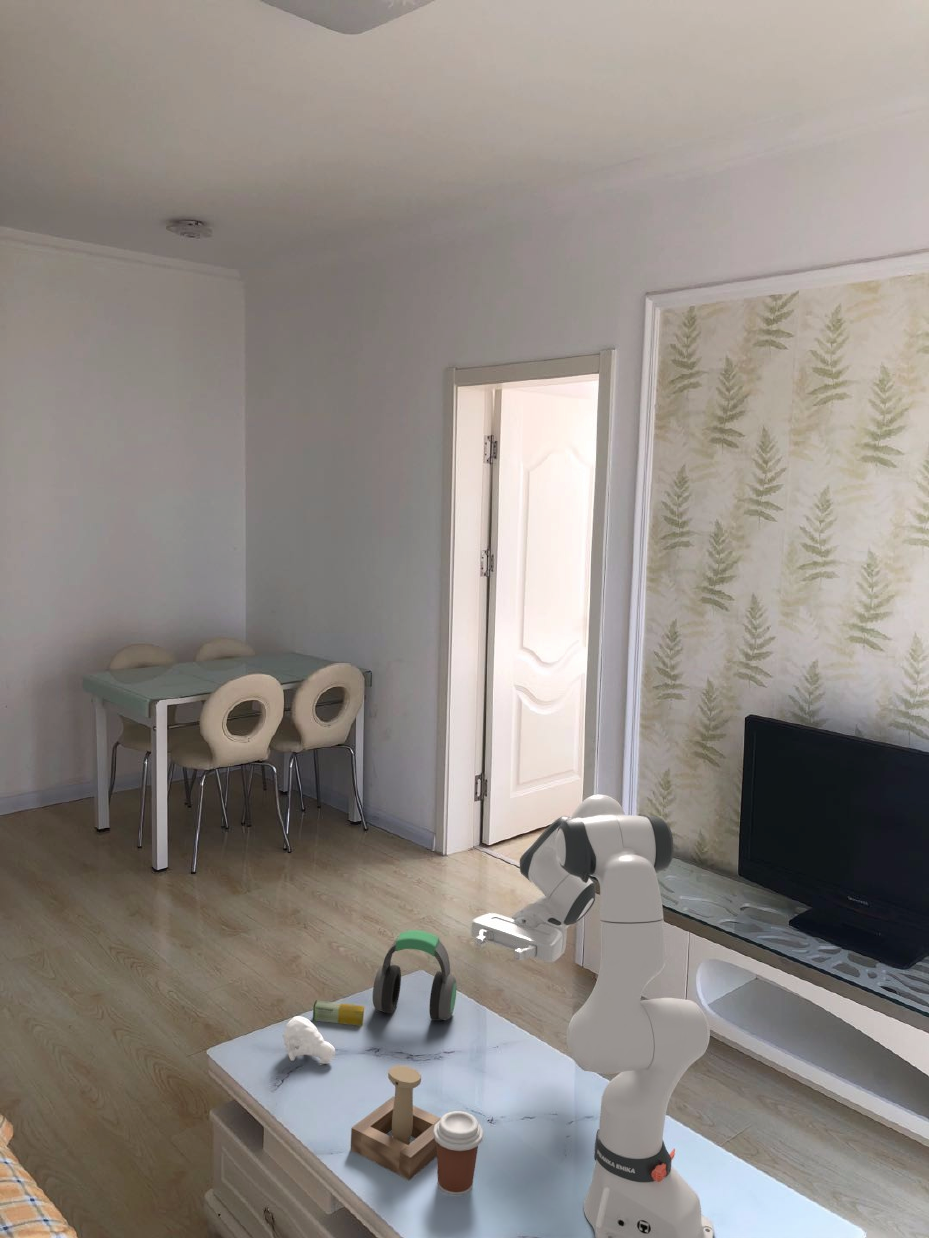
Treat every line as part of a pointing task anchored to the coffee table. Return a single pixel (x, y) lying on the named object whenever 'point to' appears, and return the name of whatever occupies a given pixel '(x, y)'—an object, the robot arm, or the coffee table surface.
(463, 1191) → the coffee cup
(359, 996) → the coffee table surface
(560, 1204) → the coffee table surface
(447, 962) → the headphones
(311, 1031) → the white lumpy rounded piece
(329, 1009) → the medication box
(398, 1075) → the handle
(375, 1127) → the socket block
